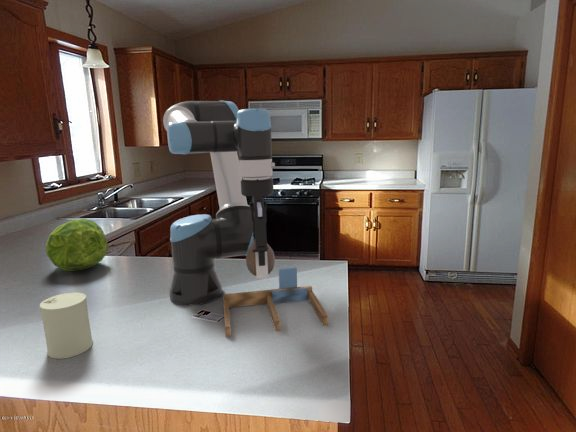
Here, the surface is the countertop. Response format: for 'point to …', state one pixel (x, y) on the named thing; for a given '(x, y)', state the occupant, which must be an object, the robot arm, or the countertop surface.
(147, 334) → the countertop surface
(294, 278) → the tab
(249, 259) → the vase
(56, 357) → the can
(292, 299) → the rack
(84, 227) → the lettuce
